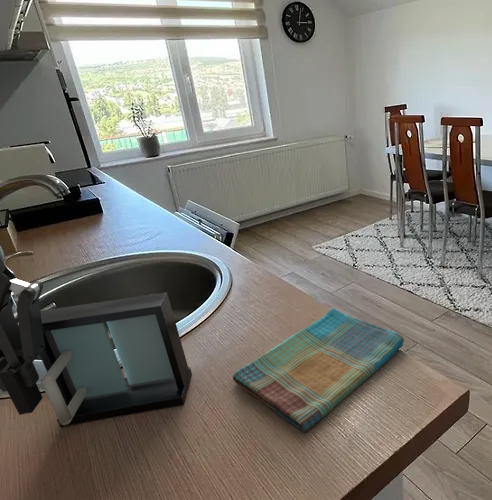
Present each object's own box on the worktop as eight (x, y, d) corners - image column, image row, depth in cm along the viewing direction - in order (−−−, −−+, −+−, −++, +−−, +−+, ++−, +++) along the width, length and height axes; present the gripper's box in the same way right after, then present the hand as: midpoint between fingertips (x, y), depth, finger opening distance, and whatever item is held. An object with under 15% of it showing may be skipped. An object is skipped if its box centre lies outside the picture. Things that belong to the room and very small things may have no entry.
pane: (52, 435, 55) (16, 361, 50) (76, 395, 62) (46, 328, 57) (110, 424, 56) (81, 351, 51) (128, 386, 63) (103, 319, 58)
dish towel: (408, 347, 70) (407, 334, 69) (306, 437, 54) (304, 422, 53) (333, 315, 80) (332, 304, 79) (231, 383, 65) (228, 370, 64)
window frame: (60, 427, 59) (17, 334, 53) (80, 393, 65) (44, 307, 59) (184, 405, 61) (156, 313, 55) (192, 374, 67) (168, 289, 61)
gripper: (-155, 258, 40) (-45, 438, 49) (-8, 240, 42) (72, 418, 51) (-93, 232, 47) (-6, 395, 56) (32, 217, 49) (96, 378, 58)
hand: (31, 405), depth 53 cm, fingers closed
